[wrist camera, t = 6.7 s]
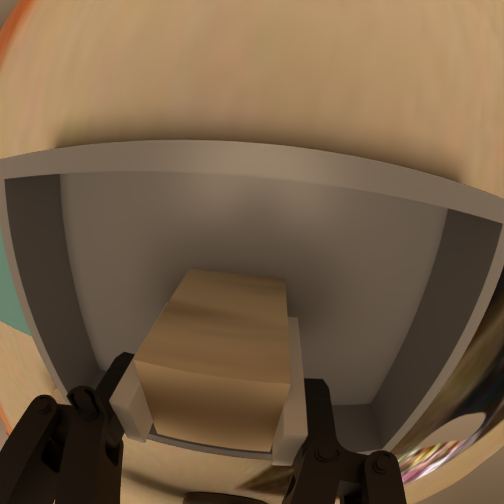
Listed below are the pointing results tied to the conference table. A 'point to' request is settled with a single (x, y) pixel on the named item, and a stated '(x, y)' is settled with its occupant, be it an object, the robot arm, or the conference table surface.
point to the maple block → (219, 361)
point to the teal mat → (9, 296)
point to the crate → (256, 263)
